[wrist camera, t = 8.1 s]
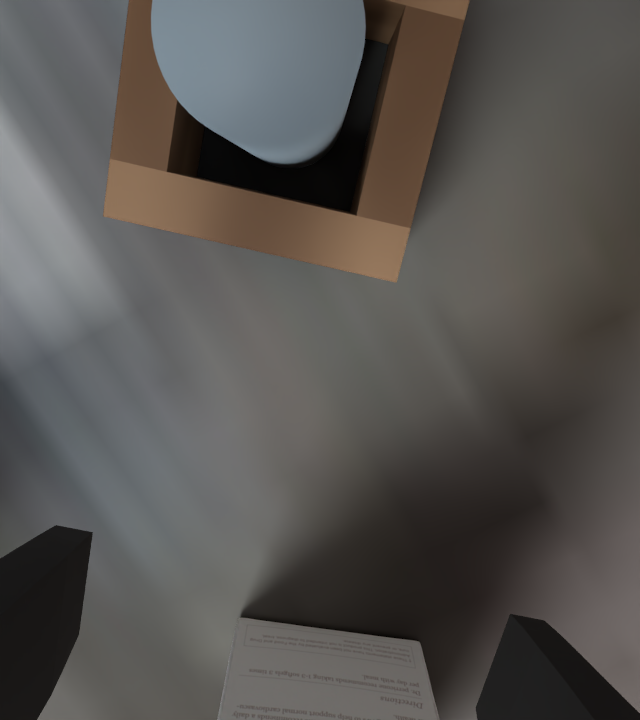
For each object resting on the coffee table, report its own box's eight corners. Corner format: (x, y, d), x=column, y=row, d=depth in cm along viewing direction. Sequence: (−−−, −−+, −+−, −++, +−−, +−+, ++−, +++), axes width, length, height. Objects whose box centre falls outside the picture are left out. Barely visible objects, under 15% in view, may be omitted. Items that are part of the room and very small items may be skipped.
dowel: (226, 154, 18) (135, 114, 9) (248, 40, 17) (170, -124, 8) (329, 180, 18) (335, 166, 9) (356, 68, 17) (390, -61, 8)
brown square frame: (144, 212, 18) (102, 216, 15) (183, -65, 16) (145, -137, 13) (382, 266, 19) (396, 282, 15) (448, 2, 17) (482, -49, 13)
